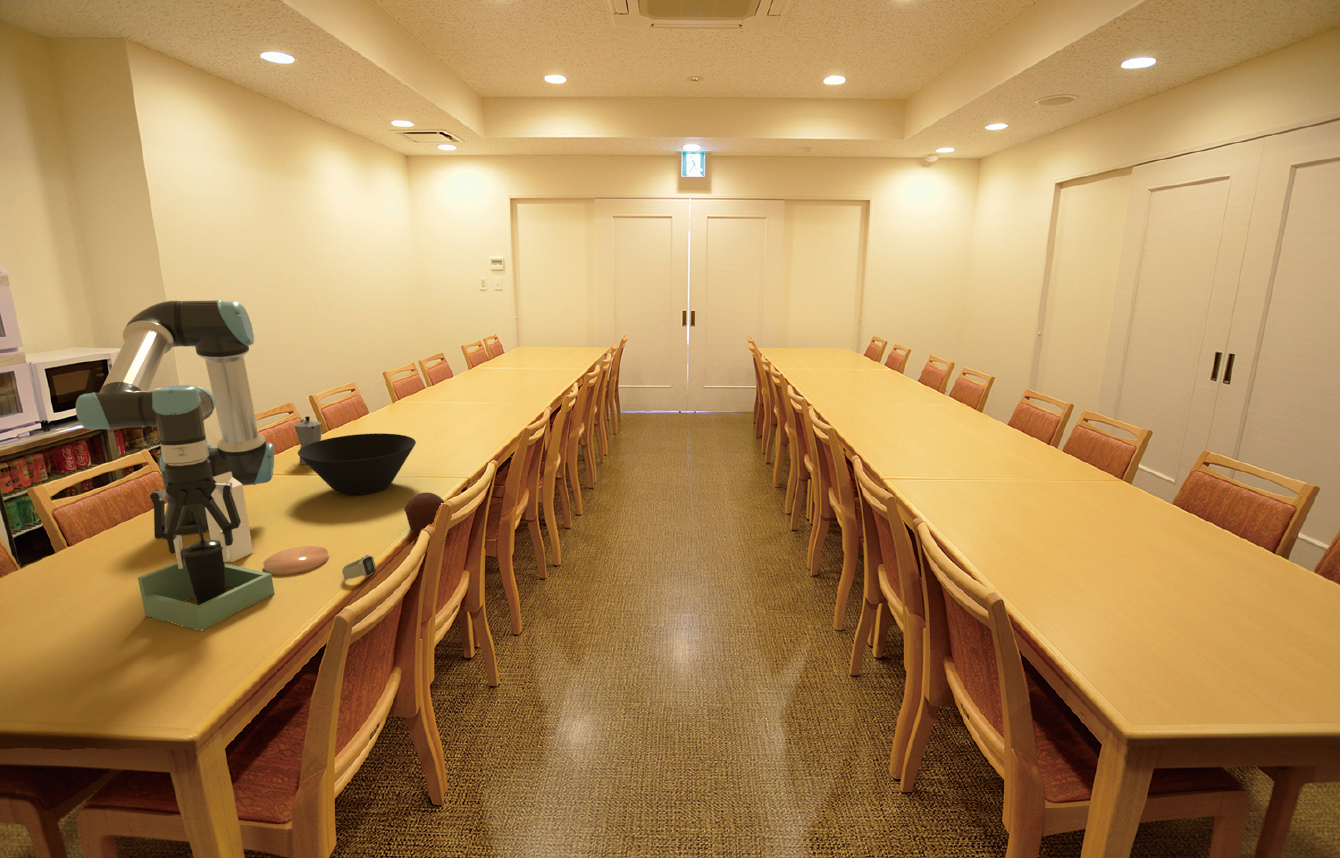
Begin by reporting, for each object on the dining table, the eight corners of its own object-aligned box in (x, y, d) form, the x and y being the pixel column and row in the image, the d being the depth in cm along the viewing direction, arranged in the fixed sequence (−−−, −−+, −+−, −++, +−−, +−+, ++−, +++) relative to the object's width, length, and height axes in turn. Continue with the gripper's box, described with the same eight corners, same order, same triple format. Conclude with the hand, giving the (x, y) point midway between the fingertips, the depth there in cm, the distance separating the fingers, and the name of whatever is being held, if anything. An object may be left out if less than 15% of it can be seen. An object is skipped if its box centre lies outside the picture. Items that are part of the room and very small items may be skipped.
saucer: (250, 569, 151) (249, 565, 151) (300, 547, 164) (299, 542, 164) (293, 579, 147) (292, 574, 147) (341, 555, 160) (340, 550, 160)
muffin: (406, 522, 182) (403, 490, 179) (445, 517, 186) (443, 486, 184) (406, 537, 171) (403, 504, 169) (448, 532, 176) (446, 499, 173)
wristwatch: (360, 584, 145) (358, 565, 144) (335, 582, 146) (333, 563, 145) (382, 567, 154) (380, 548, 153) (358, 565, 155) (356, 546, 154)
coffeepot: (331, 462, 238) (326, 417, 234) (304, 467, 232) (298, 421, 227) (319, 454, 249) (314, 411, 244) (293, 458, 242) (287, 414, 238)
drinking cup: (211, 615, 131) (197, 528, 126) (181, 611, 132) (166, 524, 127) (242, 598, 138) (230, 514, 133) (213, 594, 139) (200, 511, 135)
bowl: (364, 513, 188) (358, 466, 185) (277, 498, 199) (271, 454, 196) (441, 479, 221) (438, 438, 218) (362, 468, 232) (358, 429, 229)
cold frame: (145, 616, 130) (137, 577, 128) (222, 581, 145) (216, 546, 143) (200, 631, 125) (193, 591, 123) (274, 593, 140) (269, 557, 138)
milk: (213, 559, 156) (198, 477, 151) (235, 550, 162) (221, 470, 157) (232, 562, 155) (218, 479, 150) (254, 552, 161) (240, 472, 155)
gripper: (118, 471, 120) (140, 579, 125) (242, 460, 128) (257, 561, 134) (131, 461, 126) (151, 564, 132) (247, 451, 135) (262, 547, 140)
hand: (204, 562), depth 133 cm, fingers closed on drinking cup, 7 cm apart
